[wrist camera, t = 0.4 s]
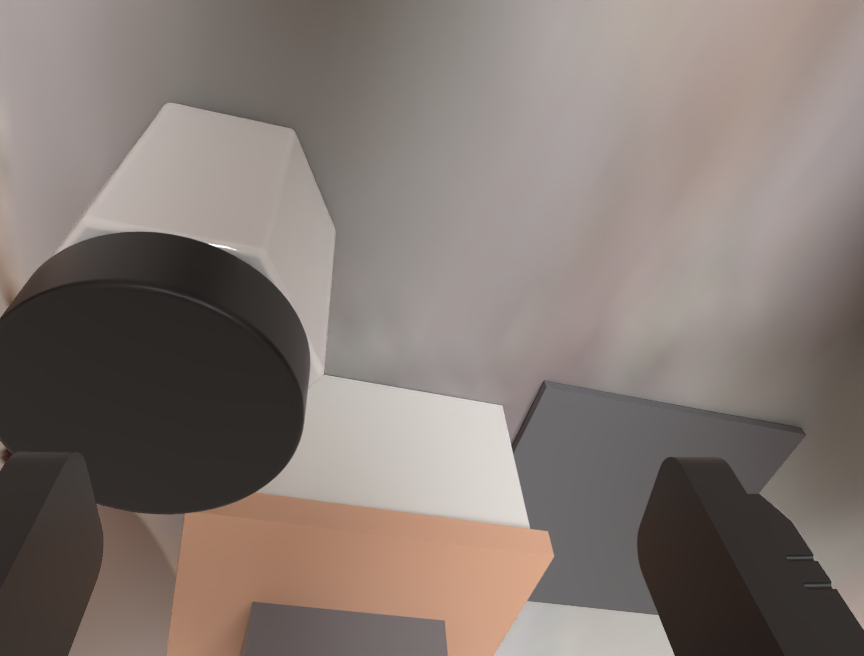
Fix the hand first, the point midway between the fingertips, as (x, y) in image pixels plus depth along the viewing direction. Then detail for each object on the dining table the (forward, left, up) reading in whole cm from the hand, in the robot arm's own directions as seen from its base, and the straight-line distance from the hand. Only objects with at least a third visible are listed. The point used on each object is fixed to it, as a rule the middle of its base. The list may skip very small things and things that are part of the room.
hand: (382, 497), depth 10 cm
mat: (+20, +19, -19) cm, 34 cm away
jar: (+6, -5, -19) cm, 21 cm away
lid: (+20, +3, -12) cm, 24 cm away
